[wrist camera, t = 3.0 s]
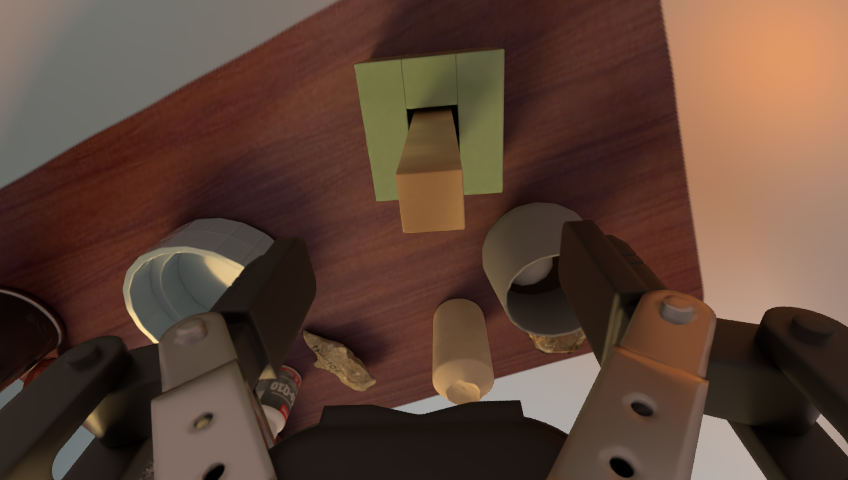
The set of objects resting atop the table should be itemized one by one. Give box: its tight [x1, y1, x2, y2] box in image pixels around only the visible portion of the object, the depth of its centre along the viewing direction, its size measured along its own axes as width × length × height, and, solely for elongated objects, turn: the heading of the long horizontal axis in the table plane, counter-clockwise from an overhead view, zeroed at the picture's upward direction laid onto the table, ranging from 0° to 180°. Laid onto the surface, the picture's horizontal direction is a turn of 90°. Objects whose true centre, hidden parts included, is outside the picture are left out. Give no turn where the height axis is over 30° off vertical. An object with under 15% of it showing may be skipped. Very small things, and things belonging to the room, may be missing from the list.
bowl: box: [123, 218, 274, 344], centre depth 36 cm, size 14×14×6 cm
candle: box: [433, 299, 494, 405], centre depth 36 cm, size 6×6×10 cm
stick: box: [395, 105, 465, 233], centre depth 23 cm, size 3×3×18 cm
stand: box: [354, 46, 504, 201], centre depth 28 cm, size 9×9×6 cm
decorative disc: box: [528, 329, 586, 354], centre depth 41 cm, size 6×6×1 cm
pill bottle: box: [255, 365, 301, 439], centre depth 43 cm, size 5×5×8 cm
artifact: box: [303, 330, 376, 391], centre depth 43 cm, size 7×3×10 cm
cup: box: [482, 202, 582, 337], centre depth 31 cm, size 10×9×10 cm
